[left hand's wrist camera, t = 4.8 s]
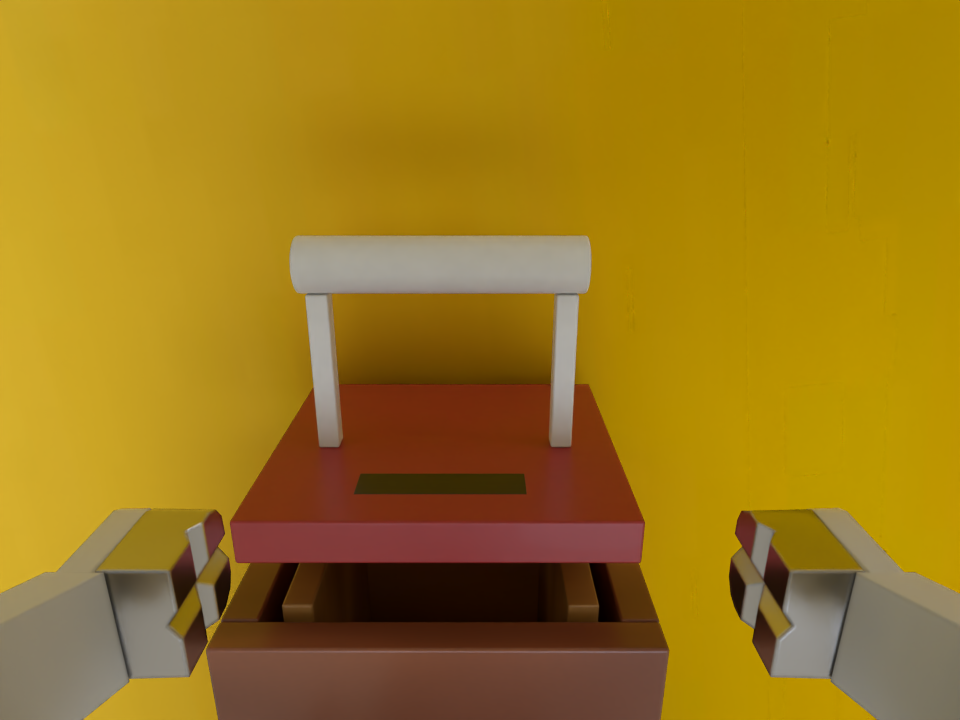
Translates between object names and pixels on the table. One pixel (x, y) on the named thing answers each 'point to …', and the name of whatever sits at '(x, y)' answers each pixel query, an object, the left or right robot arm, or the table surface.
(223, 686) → the cabinet
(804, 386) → the table surface
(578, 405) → the drawer
